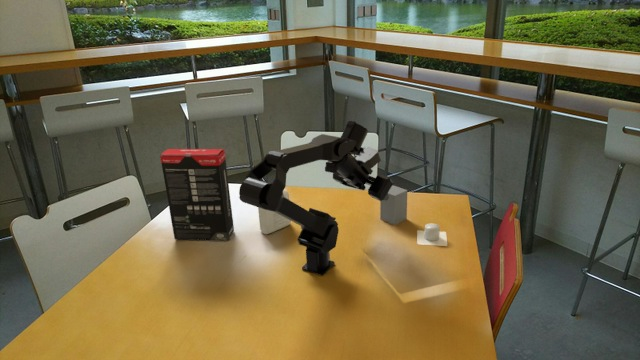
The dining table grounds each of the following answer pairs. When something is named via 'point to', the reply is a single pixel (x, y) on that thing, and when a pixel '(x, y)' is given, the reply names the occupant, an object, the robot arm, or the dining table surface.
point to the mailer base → (424, 242)
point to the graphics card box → (198, 193)
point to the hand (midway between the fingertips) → (375, 193)
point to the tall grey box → (394, 206)
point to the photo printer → (272, 219)
